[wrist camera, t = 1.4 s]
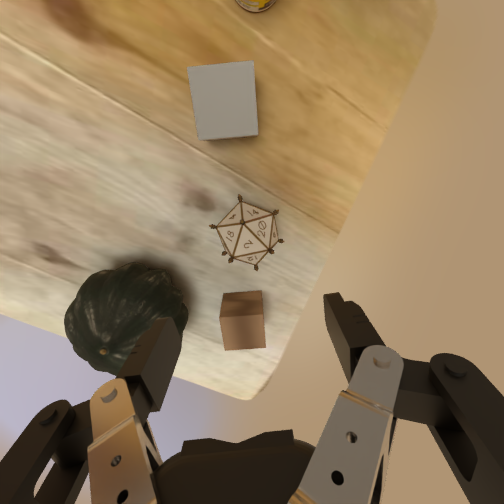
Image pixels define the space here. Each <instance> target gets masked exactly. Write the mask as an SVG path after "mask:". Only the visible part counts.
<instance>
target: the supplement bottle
mask: <svg viewBox="0 0 504 504" xmlns="http://www.w3.org/2000/svg"><path fill="white" fill-rule="evenodd" d="M236 1H237V2H238V4H239V5H240V6H242V7H243V8H245V9H246V10H249V11H253V12H259V11H263V10H265V9H267V8H269V7H270V6H271V5H272V4H273V3H274V2H275V1H276V0H236Z"/></svg>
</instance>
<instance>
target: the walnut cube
mask: <svg viewBox="0 0 504 504" xmlns="http://www.w3.org/2000/svg"><path fill="white" fill-rule="evenodd" d="M219 319H220V325H221V331H222V336H223V342H224V348H225V351H226V350H240V349H254V348H266V343H265V330H264V317H263V305H262V293H261V291H248V292H235V293H223V299H222V305H221V310H220V316H219Z"/></svg>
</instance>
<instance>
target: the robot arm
mask: <svg viewBox="0 0 504 504" xmlns="http://www.w3.org/2000/svg"><path fill="white" fill-rule="evenodd" d="M323 298H324V311H325V321H326V326H327V330H328V333H329V335H330V338H331V340H332V343H333V345H334V348H335V350H336V353H337V355H338V358H339V361H340V363H341V365H342V368H343V371H344V373H345V376H346V378H347V380H348V383H349V386H348V388H347V390H346V391H344V390H343V391H341V393H340V394H339V396H338V398H337V400H336V403H335V405H334V407H333V410H332V412H331V414H330V417H329V419H328V421H327V423H326V425H325V428H324V430H323V432H322V435H321V437H320V439H319V441H318V444H317V446H316V447H314V446H313V445H311V444H309V443H307V442H304V441H301V440H297V439H294V436H293V430H292V429H291V430H282V431H272V432H264V433H262V434H260V435H257V436H255V437H252V438H250V439H247V440H245V441H242V442H240V443H231V442H226V441H221V440H216V439H212V438H207V439H197V440H187V441H184V442H183V446H182V450H181V452H179V453H177V454H175V455H174V456H172V457H170V458H169V459H167V460H166V461H165V462H164V463H163V461H162V459H161V456H160V454H159V451H158V448H157V445H156V442H155V439H154V436H153V433H152V431H151V427H150V424H149V422H148V420H147V418H148V415H149V413H150V412H157V411H160V408H161V406H162V403H163V400H164V397H165V395H166V392H167V389H168V386H169V383H170V380H171V377H172V375H173V372H174V369H175V366H176V363H177V360H178V357H179V355H180V352H181V347H182V343H181V338H180V335H179V333H178V330H177V328H176V325H175V323H174V320H173V318H172V317H166V318H159V319H156V320H155V321H154V323H153V325H152V326H151V328H150V330H147V331H146V332H144V333H143V334H142V335H141V336H140V337H139V339H138V341H137V342H136V344H135V346H134V348H133V349H132V351H131V352H130V354H129V356H128V358H127V359H126V361H125V363H124V364H123V366H122V368H121V369H120V371H119V373H118V375H117V376H116V378H115V379H113V380H111V381H108V382H107V383H105V384H103V385H102V386H101V387H100V388H99V389H98V390H97V391H96V392H95V393H94V394H93V396H92V398H91V399H90V400H87V401H85V402H82V403H80V404H78V405H75V406H73V407H72V406H71V404H70V403H69V402H68V401H67V400H58V401H56V402H53V403H51V404H49V405H48V406H46V407H45V408H43V409H42V410H41V411H40V412H39V413H38V414H37V415H36V416H35V417H34V418H33V419H32V420H31V422H30V423H29V424H28V426H27V427H26V428H25V430H24V431H23V432H22V434H21V435H20V436H19V438H18V439H17V440H16V442H15V443H14V444H13V446H12V447H11V448H10V450H9V451H8V452H7V454H6V455H5V456H4V458H3V459H2V460H1V462H0V504H74V503H75V501H76V499H77V497H78V495H79V493H80V490H81V488H82V486H83V484H84V481H85V479H86V477H87V475H88V473H89V478H90V491H91V503H92V504H381V501H382V496H383V492H384V487H385V481H386V475H387V469H388V463H389V458H390V453H391V449H392V444H393V440H394V436H395V431H396V426H397V422H398V418H400V419H404V420H409V421H413V422H418V423H423V424H427V426H428V428H429V430H430V431H431V433H432V435H433V437H434V439H435V440H436V442H437V444H438V446H439V448H440V450H441V451H442V453H443V455H444V457H445V459H446V460H447V462H448V464H449V466H450V468H451V470H452V471H453V473H454V475H455V477H456V479H457V481H458V482H459V484H460V486H461V488H462V490H463V491H464V493H465V495H466V497H467V499H468V500H469V502H470V504H504V397H503V395H502V394H501V393H500V392H499V391H498V390H497V389H496V388H495V386H494V385H493V384H492V383H491V382H490V381H489V380H488V379H487V378H486V377H485V375H484V374H483V373H482V372H481V371H480V370H479V369H478V368H477V367H476V366H475V365H474V364H473V363H472V362H470V361H468V360H467V359H465V358H463V357H460V356H457V355H454V354H449V353H440V354H436V355H434V356H433V357H432V358H431V360H430V363H429V362H422V361H414V360H408V359H405V358H402V357H401V356H400V355H399V354H398V353H397V352H396V351H394V350H393V349H391V348H389V347H386V345H385V344H384V342H383V341H382V339H381V338H380V336H379V335H378V333H377V332H376V330H375V328H374V327H373V325H372V324H371V322H369V319H368V318H367V316H366V315H365V313H364V311H363V310H362V309H361V307H360V306H359V305H357V304H356V303H354V302H353V301H346V302H344V300H343V298H342V297H341V295H340V293H339V292H337V293H330V294H324V297H323ZM51 458H52V460H53V461H54V462H55V463H54V465H53V467H52V468H51V470H50V472H49V474H48V475H47V477H46V479H45V480H44V482H43V484H42V486H41V487H40V489H39V491H38V492H37V494H36V496H35V498H34V488H35V485H36V482H37V480H38V479H39V477H40V475H41V473H42V472H43V470H44V469H45V467H46V465H47V463H48V462H49V460H50V459H51Z"/></svg>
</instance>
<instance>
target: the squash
mask: <svg viewBox="0 0 504 504" xmlns="http://www.w3.org/2000/svg"><path fill="white" fill-rule="evenodd" d="M182 299H183V295H182V292H181V290H179V289H178V288H176V287H173V286H172V285H171V278H170V275H169V273H168V272H167V271H166V270H163V269H156V270H151V271H150V269H149V268H147V267H146V266H145V265H143V264H141V263H136V262H133V263H129V264H127V265H125V266H123V267H121V268H119V269H117V270H102V271H99V272H97V273H95V274H92V275H91V276H90V277H89V278H88V279H87V280H86V281H85V282H84V283H83V285H82V286H81V288H80V289H79V291H78V293H77V295H76V298H75V300H74V301H73V302H72V303H71V305H70V306H69V308H68V309H67V312H66V314H65V319H64V325H65V332H66V335H67V337H68V339H69V340H70V342H71V343H72V344H73V349H74V351H75V352H76V353H77V355H78V356H79V357H81V358H82V359H84V360H86V361H88V363H89V364H90V365H91V366H92V367H93V368H94V369H95V370H97V371H102V372H109V373H110V374H113V375H115V376H117V375H118V373H119V371H120V369H121V368H122V366H123V364H124V363H125V361H126V359H127V358H128V356H129V354H130V352H131V351H132V349H133V348H134V346H135V344H136V342H137V341H138V339H139V337H140V336H141V335H142V334H143V333H144V332H146V331H147V330H150V328H151V326H152V325H153V323H154V321H155V320H156V319H159V318H166V317H172V318H173V320H174V323H175V325H176V328H177V330H178V333H179V335H180V338H181V343H182V337H183V330H184V328H185V326H186V323H187V320H188V314H189V313H188V309H187V307H186V306H185V304H184V303H182Z"/></svg>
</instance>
